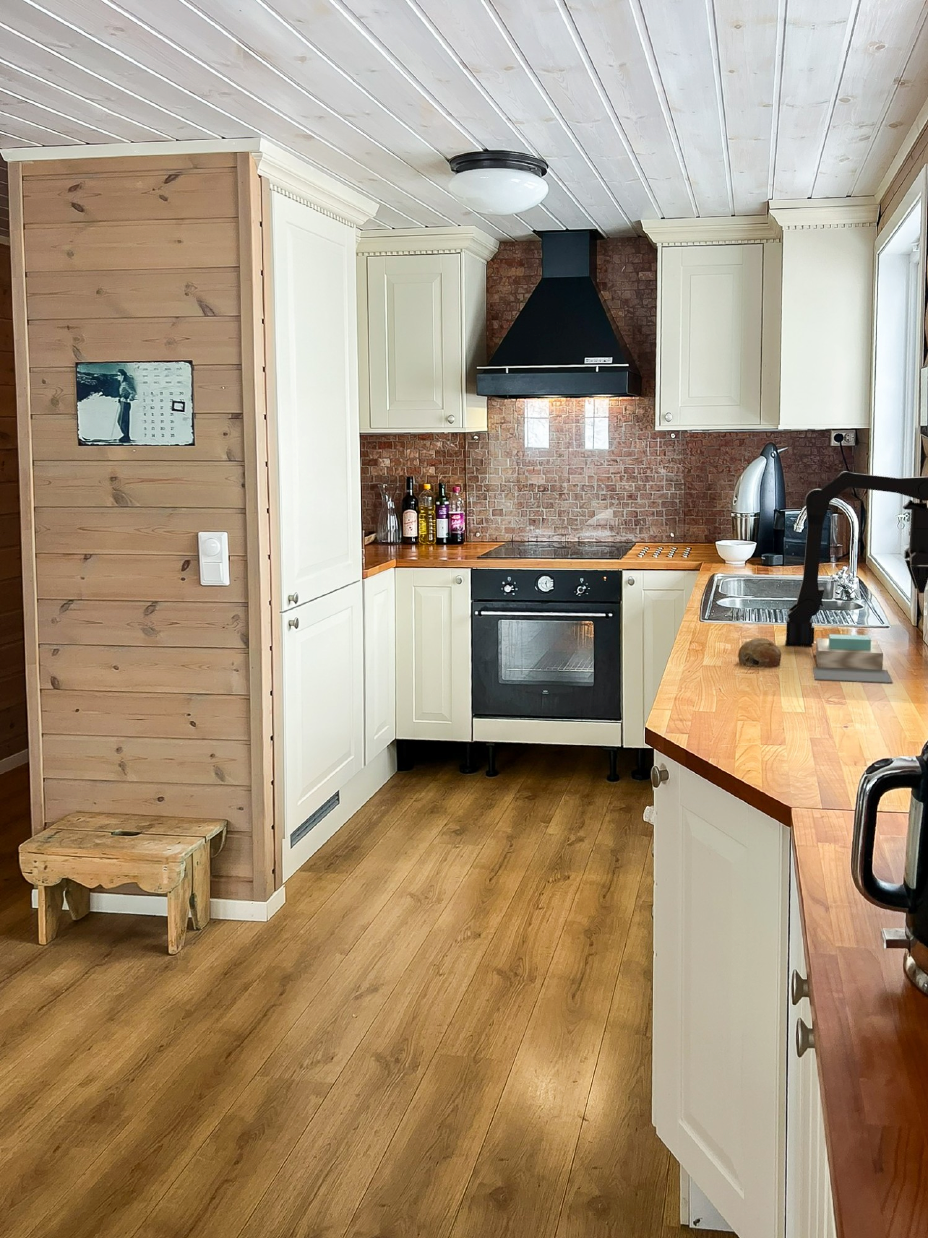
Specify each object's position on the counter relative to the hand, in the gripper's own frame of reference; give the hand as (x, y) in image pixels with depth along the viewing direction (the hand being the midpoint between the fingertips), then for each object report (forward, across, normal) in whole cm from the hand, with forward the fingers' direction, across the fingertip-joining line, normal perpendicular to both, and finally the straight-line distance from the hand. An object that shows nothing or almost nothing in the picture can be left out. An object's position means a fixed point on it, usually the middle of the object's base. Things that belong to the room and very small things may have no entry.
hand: (919, 590), depth 286 cm
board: (+15, -22, +17) cm, 32 cm away
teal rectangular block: (+11, -25, +17) cm, 32 cm away
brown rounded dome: (+15, -28, +37) cm, 49 cm away
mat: (+15, -38, +17) cm, 45 cm away
